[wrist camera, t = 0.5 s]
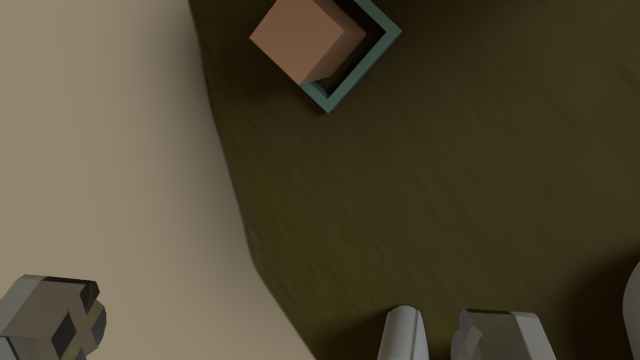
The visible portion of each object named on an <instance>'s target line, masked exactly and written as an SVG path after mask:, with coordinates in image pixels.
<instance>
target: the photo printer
mask: <svg viewBox="0 0 640 360" xmlns="http://www.w3.org/2000/svg"><path fill="white" fill-rule="evenodd" d="M377 360H429V353H428V347H427V341H426V335H425V330H424V325H423V321H422V317H421V314H420V312H419V310H416V309H415V308H413V307H410V306H398V307H396V308H394V309H393V310H392V311H389V312H388V314H387V318H386V323H385V327H384V332H383V336H382V341H381V345H380V349H379V354H378V358H377Z"/></svg>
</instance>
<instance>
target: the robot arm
mask: <svg viewBox="0 0 640 360" xmlns="http://www.w3.org/2000/svg"><path fill="white" fill-rule="evenodd" d="M99 293H100V291H99V288H98V285H97V283H96V282H95V281H90V280H80V279H70V278H60V277H51V276H38V275H27V274H25V275H23V276H22V277H20V278H18V279H17V280H16V281H15V283H14V284H13V285H12V286H11V287H10V289H9V290H8V291H7V293H6V294H5V295H4V296H3V297H2V299H1V300H0V360H86V356H87V355H88V354H90V353H91V352H93V351H94V350H95V349H97V348H98V346H99V344H100V342H101V340H102V338H103V335H104V331H105V327H106V312H105V308H104V306H103V305H102V304H101V303H100V302H99V301H98V300H96V298H97V296H98V295H99ZM459 323H460V327H461V329H459V330H458V331H456V332H455V333H454V336H453V340H452V343H451V360H556V358H555V355H554V353H553V351H552V348H551V346H550V344H549V341H548V339H547V337H546V335H545V332H544V330H543V328H542V325H541V323H540V321H539V318H538V317H537V316H536V315H535V314H534V313H522V312H508V311H497V310H481V309H466V308H465V309H464V310H463V311H462V312H461V315H460V318H459Z"/></svg>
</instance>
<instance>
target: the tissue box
mask: <svg viewBox="0 0 640 360" xmlns="http://www.w3.org/2000/svg"><path fill="white" fill-rule="evenodd" d="M623 317H624V322H625V327H626V331H627V335H628V339H629V343H630V346H631V350H632V354H633V358H634V360H640V261H639V263H638V264H637V265H636V267H635V268H634V270H633V272H632V274H631V276H630V278H629V280H628V283H627V285H626V289H625V292H624V297H623Z"/></svg>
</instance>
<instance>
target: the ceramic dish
mask: <svg viewBox="0 0 640 360" xmlns="http://www.w3.org/2000/svg"><path fill="white" fill-rule="evenodd" d="M354 1H355V2H356V3H357V4H358V5H359V6H360V7H361V8H362V9H363V10H364V11H365V12H366V13H367V14H368V15H369V16H370V17H372V18H373V19H374V20H375V21H376V22H377V23H378V24H379V25H380V26H381V27H382V28H383V29H384V30H385V31H386V33H385V34H384V36H383V37H382V38H381V39H380V40H379V41H378V42H377V44H376V45H375V46H374V47H373V48H372V49H371V50H370V52H369V53H368V54H367V55H366V56H365V57H364V58H363V60H362V61H361V62H360V63H359V64H358V65H357V66H356V68H355V69H354V70H353V71H352V72H351V73H350V74H349V75H348V77H347V78H346V79H345V80H344V81H343V82H342V83H341V85H340V86H339V87H338V88H337V89H336V90H335V91H334V93H333V94H332V95H331V96H330V95H329V94H328V93H327V92H326V91H325V90H324V89H323V88H322V87H321V86H320V85H319V84H317V83H316V82H315V81H313V82H309V83H305V84H301V85H299V86H300V87H301V88H302V89H303V90H304V91H305V92H306V93H307V94H308V95H309V96H310V97H311V98H312V99H313V100H314V101H315V102H317V103H318V104H319V105H320V106H321V107H322V108H323V109H324V110H325V111H326V112H327V113H330V112H332V111H333V110H334V109H335V108H336V107H337V106H338V105H339V104H340V102H341V101H342V100H343V99H344V98H345V97H346V96H347V95H348V94H349V92H350V91H351V90H352V89H353V88H354V87H355V86H356V85H357V83H358V82H359V81H360V80H361V79H362V78H363V77H364V76H365V74H366V73H367V72H368V71H369V70H370V69H371V68H372V67H373V66H374V64H375V63H376V62H377V61H378V60H379V59H380V58H381V57H382V55H383V54H384V53H385V52H386V51H387V50H388V49H389V48H390V47H391V45H392V44H393V43H394V42H395V41H396V40H397V39H398V38H399V36H400V35H401V34H402V33H403V32H404V31H403V30H402V29H401V28H400V27H399V26H398V25H397V24H396V23H395V22H394V21H392V20H391V19H390V18H389V17H388V16H387V15H386V14H385V13H384V12H383V11H382V10H381V9H380V8H379V7H378V6H377V5H376V4H375V3H374V2H373V1H371V0H354ZM259 48H260V47H259ZM260 49H261V48H260ZM261 50H262V49H261ZM262 51H263V50H262ZM263 52H264V51H263ZM264 53H265V52H264ZM265 54H266V53H265ZM266 55H267V54H266ZM267 56H268V55H267ZM268 57H269V56H268ZM269 58H270V57H269ZM270 59H271V58H270ZM271 60H272V59H271ZM281 69H282V68H281ZM282 70H283V69H282ZM283 71H284V70H283ZM284 72H285V71H284ZM285 73H286V72H285ZM286 74H287V73H286ZM287 75H288V74H287ZM288 76H289V75H288ZM289 77H290V76H289ZM290 78H291V77H290ZM291 79H292V78H291ZM292 80H293V79H292ZM293 81H294V80H293Z"/></svg>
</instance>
